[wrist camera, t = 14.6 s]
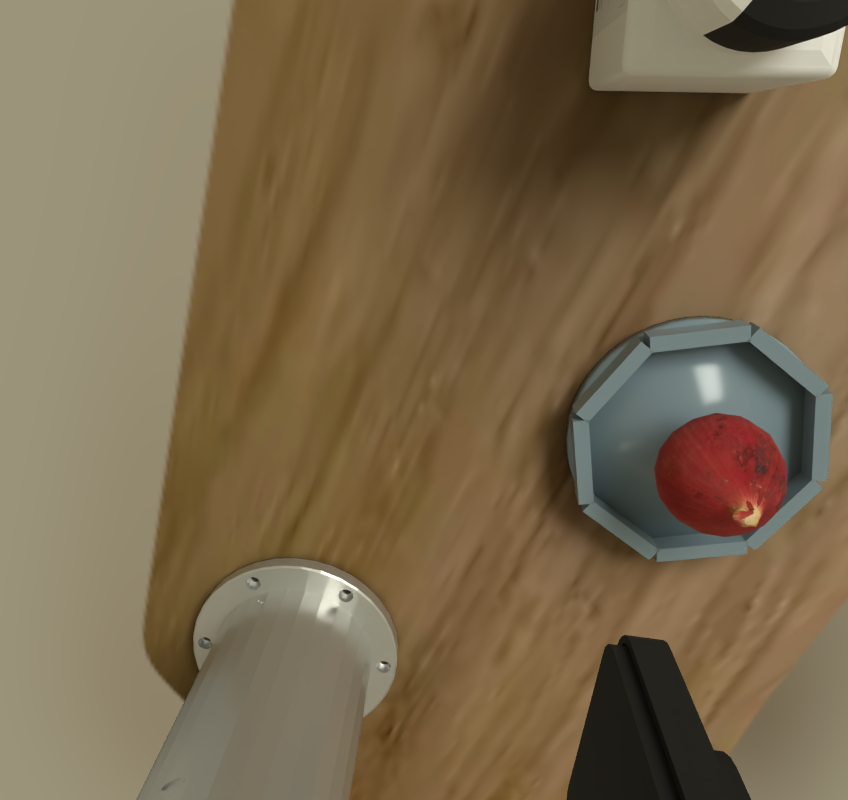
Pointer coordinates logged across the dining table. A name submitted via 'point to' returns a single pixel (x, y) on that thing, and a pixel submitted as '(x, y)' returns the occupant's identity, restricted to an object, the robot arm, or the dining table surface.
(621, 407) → the dish
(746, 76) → the container
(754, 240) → the dining table surface
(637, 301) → the dining table surface
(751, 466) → the onion
